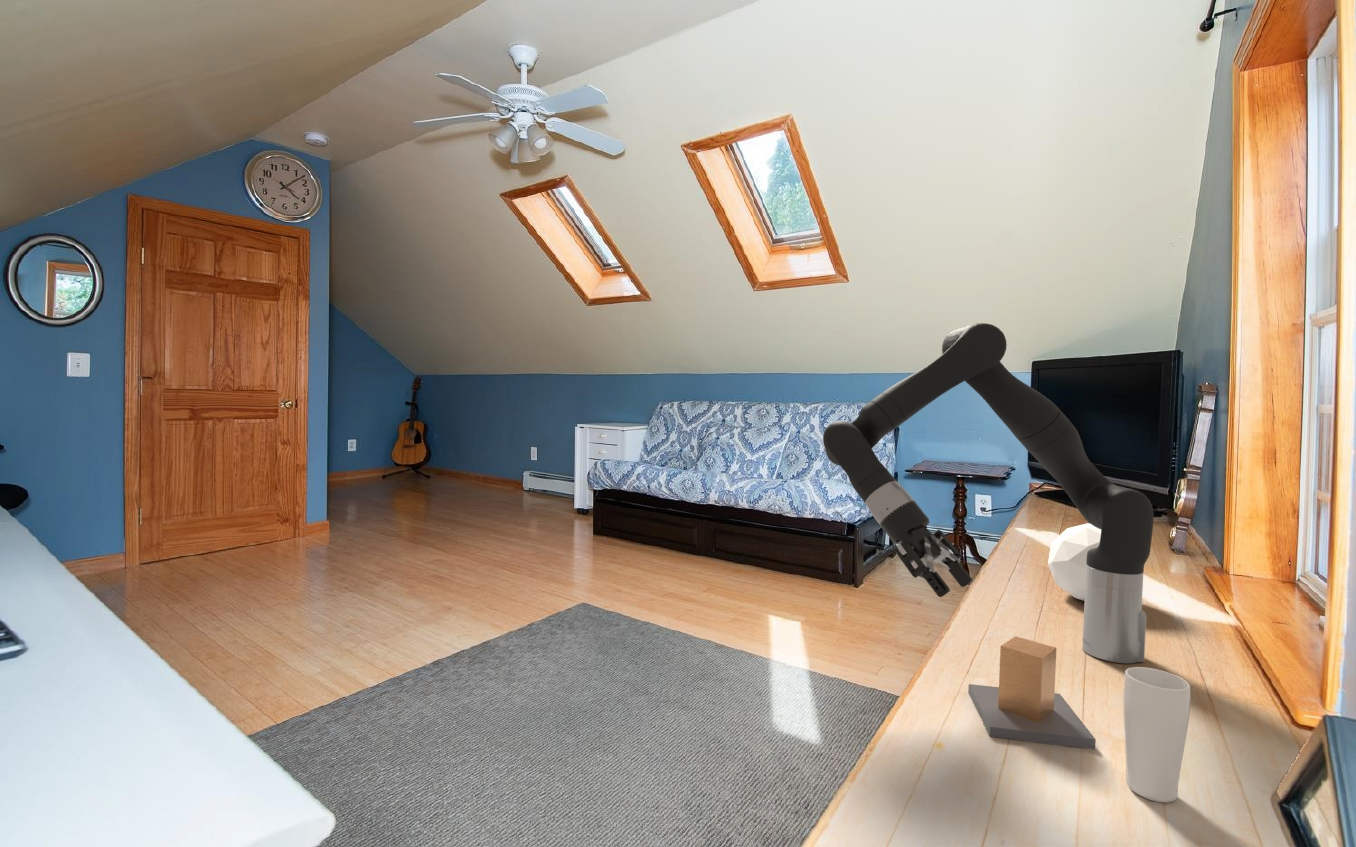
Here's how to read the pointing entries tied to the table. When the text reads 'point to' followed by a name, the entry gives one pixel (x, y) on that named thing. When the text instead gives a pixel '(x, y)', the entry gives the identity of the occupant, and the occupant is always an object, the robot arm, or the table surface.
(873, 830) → the table surface
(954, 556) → the robot arm
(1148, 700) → the drinking glass
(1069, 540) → the geometric orb
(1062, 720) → the post base
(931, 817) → the table surface
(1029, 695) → the wooden block
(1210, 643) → the table surface
